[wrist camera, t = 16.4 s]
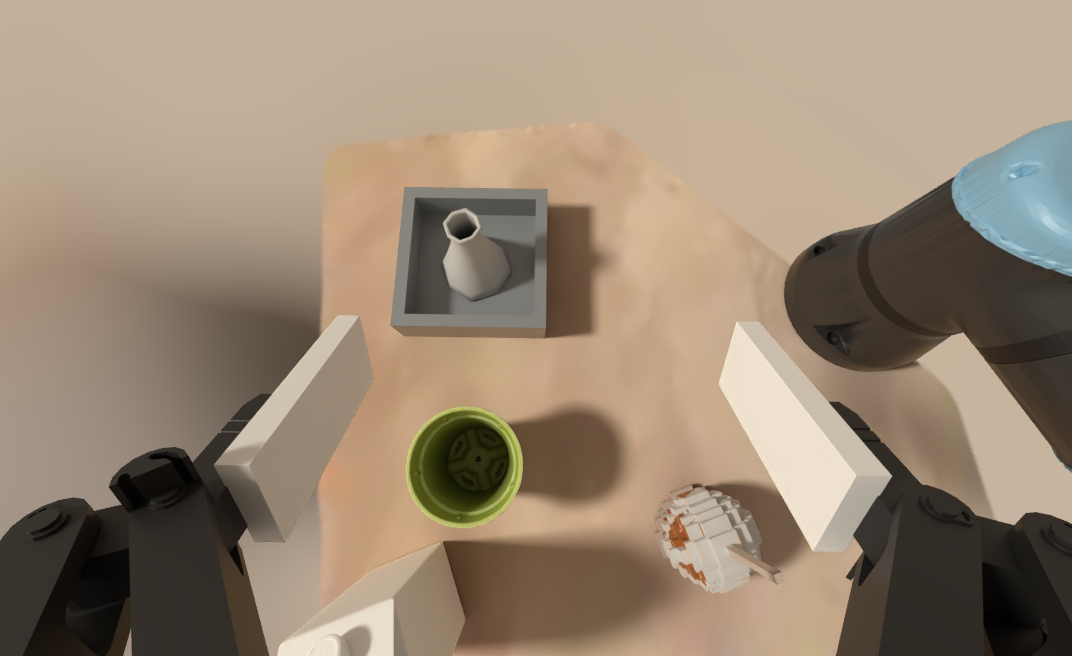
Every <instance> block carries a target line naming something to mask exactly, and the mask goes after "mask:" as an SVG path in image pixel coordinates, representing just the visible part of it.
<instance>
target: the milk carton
mask: <svg viewBox="0 0 1072 656" xmlns="http://www.w3.org/2000/svg"><path fill="white" fill-rule="evenodd" d="M464 623H465V616H464V612H463V609H462V605H461V602H460V599H459V595H458V592H457V588H456V585H455V581H454V578H453V575H452V571H451V568H450V564H449V561H448V558H447V554H446V551H445V547H444V544H443V542H439V543H436V544H434V545H431V546H429V547H426V548H424V549H421V550H419V551H416V552H414V553H411V554H409V555H406V556H404V557H401V558H399V559H396V560H394V561H391V562H389V563H386V564H384V565H381V566H379V567H376V568H374V569H372V570H370V571H369V572H368V573H367V574H366V575H364V576H363V577H362V578H361V579H359V580H358V581H357V582H356V583H354V584H353V585H352V586H351V587H350V588H348V589H347V590H346V591H345V592H343V593H342V594H341V595H340V596H338V597H337V598H336V599H335V600H334V601H332V602H331V603H330V604H329V605H327V606H326V607H325V608H324V609H323V610H321V611H320V612H319V613H318V614H316V615H315V616H314V617H313V618H311V619H310V620H309V621H308V622H307V623H305V624H304V625H303V626H302V627H300V628H299V629H298V630H297V631H295V632H294V633H293V634H292V635H291V636H289V637H288V638H287V639H286V640H285V641H284V642H283V643H282V644H281V645H280V646H279V650H278V656H452V655H453V652H454V649H455V647H456V644H457V642H458V639H459V636H460V634H461V631H462V628H463V626H464Z"/></svg>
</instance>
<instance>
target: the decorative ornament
mask: <svg viewBox="0 0 1072 656" xmlns="http://www.w3.org/2000/svg"><path fill="white" fill-rule="evenodd" d="M669 495H670V497H671V499H668V500H666V501H663V502H660V503H661V505H662V509H660V510H657V511H658V513H659V517H656V518H654V519H655V521H656V524H657V527H658V529H659V530H658V531H656V532H654V535H655V538H656V540H657V543H658V545H659V548H660V551H661V553H662V556H663V557H664V558H667V557H668V558H669V559H670V562H671V564H672V566H673V567H674V568H675V569H677V568H679V571H680V574H681V575H682V576H683V577H684V578H687V577H689V579H690V580H691V581H692V582H693V583H694V584H696V585H697V584H699V585H700V586H701V587H703V588H704V589H705V590H706V591H707V592H708V591H711V592H712V593H713V594H715V593H717V592H721V593H722V594H724V593H726V592H729V591H731V590H733V589H736V588H738V587H741V586H743V585H746V584H747V583H748V582H750V580H749V577H750V574H753V573H755V572H758V573H759V574H761V575H763V576H764V577H766V578H768V579H769V580H771V581H772V582H774V583H776V584H780V583H782V582H785V579H784V577H783V575H782V572H781V571H779V570H777V569H775V568H773V567H771V566H770V565H768V564H766V563H764V562H762V561H761V560H763V559H762V557H761V555H760V554H762V553H761V550H760V546H759V545H760V544H762V540H761V538H762V537H761V534H760V532H759V530H758V528H757V525H756V523H755V521H754V518H753V516H752V514H751V512H750V511H748V510H745V509H742V507H741V504H740V502H739V500H736V499H732V498H731V497H730V496H728V495H724V494H722V492H720V491H716V490H713V489H711V490H706V489H705V487H703V486H702V487H700V488H699V487H698V488H695V489H693V487H692V485H688V486H685V487H682V488H680V489H677V490H674V491H672V492H669Z"/></svg>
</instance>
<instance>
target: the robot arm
mask: <svg viewBox="0 0 1072 656" xmlns="http://www.w3.org/2000/svg"><path fill="white" fill-rule="evenodd" d="M784 297H785V305H786V309H787V313H788V316H789V318H790V321H791V323H792V325H793V327H794V328H795V330H796V332H797V333H798V335H799V336H800V337H801V339H802V340H803V341H804V342H805V343H806V344H807V345H808V346H809V347H810V348H811V349H812V350H813V351H814V352H815V353H817V354H818V355H819V356H821V357H822V358H824V359H826V360H827V361H829V362H831V363H833V364H835V365H838V366H840V367H843V368H847V369H851V370H856V371H879V370H884V369H890V368H895V367H899V366H902V365H905V364H908V363H910V362H912V361H914V360H916V359H918V358H919V357H921V356H922V355H924V354H925V353H927V352H928V351H930V350H931V349H932V348H934V347H936V346H937V345H938V344H940V343H941V342H943V341H944V340H946V339H947V338H948V337H950V336H951V335H955V334H958V333H962V332H964V334H965V335H966V336H967V337H968V339H969V340H970V341H971V343H972V344H973V345H974V346H975V347H976V349H977V350H978V351H979V352H980V354H981V355H982V356H983V357H984V359H985V360H986V362H987V363H988V364H989V366H990V367H991V368H992V370H993V371H994V372H995V374H996V375H997V376H998V377H999V379H1000V380H1001V381H1002V383H1003V384H1004V385H1005V387H1006V388H1007V389H1008V390H1009V392H1010V393H1011V394H1012V396H1013V397H1014V398H1015V399H1016V401H1017V402H1018V404H1019V405H1020V406H1021V407H1022V409H1023V410H1024V411H1025V412H1026V414H1027V415H1028V416H1029V418H1030V419H1031V420H1032V422H1033V423H1034V424H1035V426H1036V427H1037V428H1038V430H1039V431H1040V432H1041V433H1042V435H1043V436H1044V437H1045V439H1046V440H1047V441H1048V442H1049V444H1050V445H1051V447H1052V449H1053V452H1054V453H1055V455H1056V457H1057V458H1058V459H1059V461H1060V462H1062V463H1063V464H1064V466H1065V467H1066V468H1067V469H1068V470H1069V471H1070V472H1072V120H1071V121H1065V122H1059V123H1054V124H1051V125H1048V126H1044V127H1042V128H1039V129H1036V130H1034V131H1031V132H1029V133H1027V134H1025V135H1023V136H1021V137H1020V138H1018V139H1016V140H1014V141H1012V142H1011V143H1009V144H1007V145H1005V146H1004V147H1002V148H1000V149H998V150H996V151H995V152H992V153H989V154H986V155H984V156H981V157H979V158H977V159H975V160H973V161H972V162H970V163H969V164H968V165H966V166H965V167H963V168H962V169H961V170H960V172H959V173H958V174H957V176H955V177H953V178H951V179H950V180H948V181H947V182H945V183H943V184H942V185H940V186H938V187H937V188H935V189H933V190H932V191H930V192H929V193H927V194H925V195H923V196H922V197H920V198H919V199H917V200H916V201H914V202H912V203H911V204H909V205H907V206H905V207H904V208H902V209H900V210H899V211H897V212H896V213H894V214H892V215H891V216H889V217H888V218H886V219H884V220H883V221H881V222H879V223H877V224H872V225H868V226H864V227H859V228H854V229H850V230H845V231H841V232H837V233H834V234H831V235H829V236H826V237H825V238H823V239H821V240H819V241H818V242H816V243H815V244H813V245H812V246H810V247H809V248H807V249H806V250H805V251H803V252H802V253H801V254H800V255H799V256H798V257H797V258H796V260H795V261H794V262H793V264H792V265H791V267H790V269H789V272H788V274H787V277H786V281H785V289H784ZM373 380H374V377H373V372H372V368H371V364H370V359H369V355H368V350H367V346H366V342H365V337H364V333H363V328H362V324H361V319H360V316H354V315H337V317H336V318H335V319H334V320H333V321H332V323H331V324H330V325H329V326H328V328H327V329H326V330H325V331H324V332H323V334H322V335H321V336H320V337H319V338H318V340H317V341H316V342H315V343H314V345H313V346H312V347H311V348H310V349H309V351H308V352H307V353H306V354H305V355H304V357H303V358H302V359H301V360H300V361H299V363H298V364H297V365H296V366H295V367H294V369H293V370H292V371H291V372H290V373H289V375H288V376H287V377H286V378H285V379H284V381H283V382H282V383H281V384H280V386H279V387H278V388H277V389H276V390H275V392H274V393H273V394H260V395H258V396H257V397H255V398H254V399H252V400H251V401H249V402H248V403H246V404H245V405H243V406H242V408H241V409H240V410H239V411H238V412H237V413H236V414H235V415H234V417H233V418H232V419H231V422H228V423H227V424H226V426H225V427H224V428H223V429H222V430H221V433H218V434H217V436H216V437H215V438H214V439H213V440H212V441H211V442H210V444H209V445H208V446H207V447H206V448H205V449H204V450H203V451H202V453H201V454H200V455H199V456H198V457H197V458H196V459H195V460H194V462H193V463H192V461H191V460H190V458H189V456H188V455H187V453H186V452H185V451H184V450H183V449H180V448H176V447H172V448H162V449H158V450H154V451H151V452H148V453H146V454H143V455H141V456H139V457H137V458H135V459H133V460H132V461H130V462H129V463H128V464H126V465H125V466H123V467H122V468H121V469H120V470H119V471H118V472H117V473H116V474H115V475H114V477H113V478H112V480H111V483H110V486H109V488H110V489H111V491H112V492H113V493H114V495H115V496H116V497H117V499H118V500H119V501H120V503H121V504H122V505H119V506H114V507H110V508H106V509H101V510H97V511H94V510H93V509H92V508H91V507H90V505H89V504H88V503H87V502H86V501H85V500H84V499H80V498H68V499H63V500H58V501H56V502H53V503H50V504H47V505H45V506H42V507H40V508H39V509H37V510H35V511H33V512H31V513H30V514H28V515H26V516H25V517H23V518H22V519H21V520H20V521H18V522H17V523H16V524H14V525H13V526H12V527H11V528H10V529H9V530H8V532H7V533H6V534H5V535H4V536H3V537H2V539H1V541H0V656H123V654H124V651H125V647H126V644H127V640H128V637H129V633H130V629H131V637H132V656H269V653H268V650H267V646H266V642H265V638H264V634H263V631H262V626H261V622H260V619H259V615H258V611H257V607H256V603H255V599H254V595H253V591H252V588H251V584H250V580H249V576H248V572H247V568H246V564H245V560H244V557H243V553H242V549H241V548H240V546H239V544H238V540H239V539H240V537H241V536H242V534H243V533H244V531H245V530H246V528H248V530H249V532H250V534H251V536H252V538H253V540H254V542H286V540H287V538H288V537H289V535H290V533H291V531H292V529H293V527H294V526H295V524H296V522H297V520H298V518H299V516H300V515H301V513H302V511H303V509H304V507H305V505H306V503H307V502H308V500H309V498H310V496H311V494H312V492H313V490H314V489H315V487H316V485H317V483H318V481H319V479H320V478H321V476H322V474H323V472H324V470H325V468H326V466H327V465H328V463H329V461H330V459H331V457H332V455H333V453H334V452H335V450H336V448H337V446H338V444H339V442H340V441H341V439H342V437H343V435H344V433H345V431H346V429H347V428H348V426H349V424H350V422H351V420H352V418H353V416H354V415H355V413H356V411H357V409H358V407H359V405H360V404H361V402H362V400H363V398H364V396H365V394H366V392H367V391H368V389H369V387H370V385H371V383H372V381H373ZM719 386H720V387H721V389H722V391H723V393H724V395H725V396H726V398H727V400H728V402H729V403H730V405H731V407H732V409H733V411H734V412H735V414H736V416H737V418H738V419H739V421H740V423H741V425H742V426H743V428H744V430H745V432H746V434H747V435H748V437H749V439H750V441H751V442H752V444H753V446H754V448H755V449H756V451H757V453H758V455H759V457H760V458H761V460H762V462H763V464H764V465H765V467H766V469H767V471H768V472H769V474H770V476H771V478H772V480H773V481H774V483H775V485H776V487H777V488H778V490H779V492H780V494H781V496H782V497H783V499H784V501H785V503H786V504H787V506H788V508H789V510H790V511H791V513H792V515H793V517H794V519H795V520H796V522H797V524H798V526H799V527H800V529H801V531H802V533H803V534H804V536H805V538H806V540H807V542H808V543H809V545H810V547H811V549H812V550H813V551H827V552H844V551H845V549H846V548H847V546H848V545H849V543H850V541H851V540H852V538H853V537H855V539H856V540H857V542H858V543H859V545H860V546H861V548H862V549H863V553H862V554H861V556H860V557H859V559H858V560H857V562H856V563H855V564H854V566H853V567H852V569H851V570H850V572H849V573H848V575H847V576H846V578H848V579H849V580H852V578H853V577H854V579H853V583H852V588H851V592H850V596H849V601H848V605H847V610H846V614H845V618H844V623H843V627H842V632H841V636H840V640H839V645H838V649H837V653H836V656H1072V524H1071V523H1069V522H1067V521H1064V520H1061V519H1059V518H1056V517H1054V516H1051V515H1047V514H1042V513H1037V512H1034V513H1026V514H1025V515H1024V516H1023V517H1022V518H1021V519H1020V520H1019V521H1018V522H1017V523H1016V524H1015V525H1011V524H1007V523H1003V522H999V521H995V520H992V519H988V518H984V517H980V516H976V515H975V514H974V513H973V512H972V511H971V509H970V508H969V507H968V506H966V505H965V504H964V503H963V502H961V501H960V500H959V499H957V498H956V497H954V496H952V495H950V494H949V493H947V492H945V491H943V490H940V489H937V488H934V487H931V486H928V485H922V484H921V483H920V482H919V481H918V480H917V479H916V478H915V477H914V476H913V475H912V473H911V472H910V471H909V470H908V469H907V468H906V467H905V466H904V465H903V464H902V463H901V461H900V460H899V459H898V458H897V457H896V456H895V455H894V454H893V453H892V452H891V451H890V449H889V448H888V447H887V446H886V445H885V444H884V443H881V441H880V439H879V437H878V436H877V435H876V434H875V433H874V432H873V431H870V428H869V427H868V426H867V424H866V423H865V422H864V421H863V420H862V419H861V418H860V417H859V416H858V415H857V414H856V413H855V412H853V411H852V410H850V409H849V408H847V407H846V406H844V405H843V404H841V403H840V402H828V401H827V400H826V399H825V398H824V397H823V395H822V394H821V393H820V392H819V391H818V390H817V388H816V387H815V386H814V385H813V384H812V383H811V381H810V380H809V379H808V378H807V377H806V376H805V375H804V373H803V372H802V371H801V370H800V369H799V368H798V366H797V365H796V364H795V363H794V362H793V361H792V359H791V358H790V357H789V356H788V355H787V354H786V353H785V351H784V350H783V349H782V348H781V347H780V346H779V344H778V343H777V342H776V341H775V340H774V339H773V338H772V336H771V335H770V334H769V333H768V332H767V331H766V329H765V328H764V327H763V326H762V325H761V324H760V322H740V321H737V323H736V326H735V330H734V333H733V336H732V340H731V343H730V347H729V350H728V354H727V357H726V361H725V364H724V367H723V371H722V374H721V378H720V381H719Z"/></svg>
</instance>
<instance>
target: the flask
mask: <svg viewBox="0 0 1072 656" xmlns="http://www.w3.org/2000/svg"><path fill="white" fill-rule="evenodd" d="M443 225H444V228H445V231H446V234H447V237H448V238H449V239H451V243H450V246H449V249H448V251H447V254H446V256H445V258H444V260H443V262H442V266H443V269H444V272H445V275H446V278H447V281H448V284H449V287H450V288H451V289H453V290H454V291H456V292H457V293H459V294H460V295H462V296H463V297H465V298H467V299H468V300H470V301H471V302H472V301H475V300H478V299H481V298H484V297H487V296H490V295H493V294H496V293H498V291H499V290H500V288H501V287H502V286H503V284H504V283H505V281H506V280H507V279H508V277H509V276H510V275H511V273H512V270H511V267H510V264H509V262H508V259H507V256H506V253H505V251H504V249H503V248H502V247H501V246H499V245H497V244H496V243H494V242H492V241H491V240H489V239H488V238H487V237H485V236H484V235H483V234H482V233H481V231H482V227H481V224H480V221H479V218H478V216H477V215H476V214H475V213H473V212H472V211H470V210H468V209H467V208H463V209H460V210H457V211H454V212H451V213H450V215H449V216H448V217H447V219H446V220H445V221H444V222H443Z"/></svg>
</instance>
